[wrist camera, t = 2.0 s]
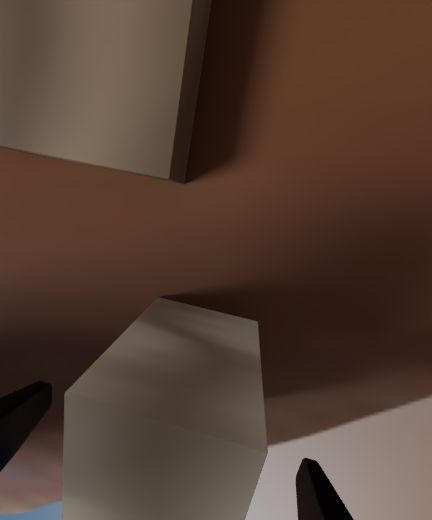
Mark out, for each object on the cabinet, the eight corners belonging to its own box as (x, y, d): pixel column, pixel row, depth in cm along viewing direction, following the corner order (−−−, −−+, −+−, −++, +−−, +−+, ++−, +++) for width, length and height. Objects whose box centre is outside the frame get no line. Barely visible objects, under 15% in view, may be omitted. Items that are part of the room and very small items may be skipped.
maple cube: (146, 378, 13) (61, 525, 7) (158, 296, 11) (64, 392, 6) (235, 402, 12) (223, 581, 6) (257, 320, 11) (267, 452, 5)
